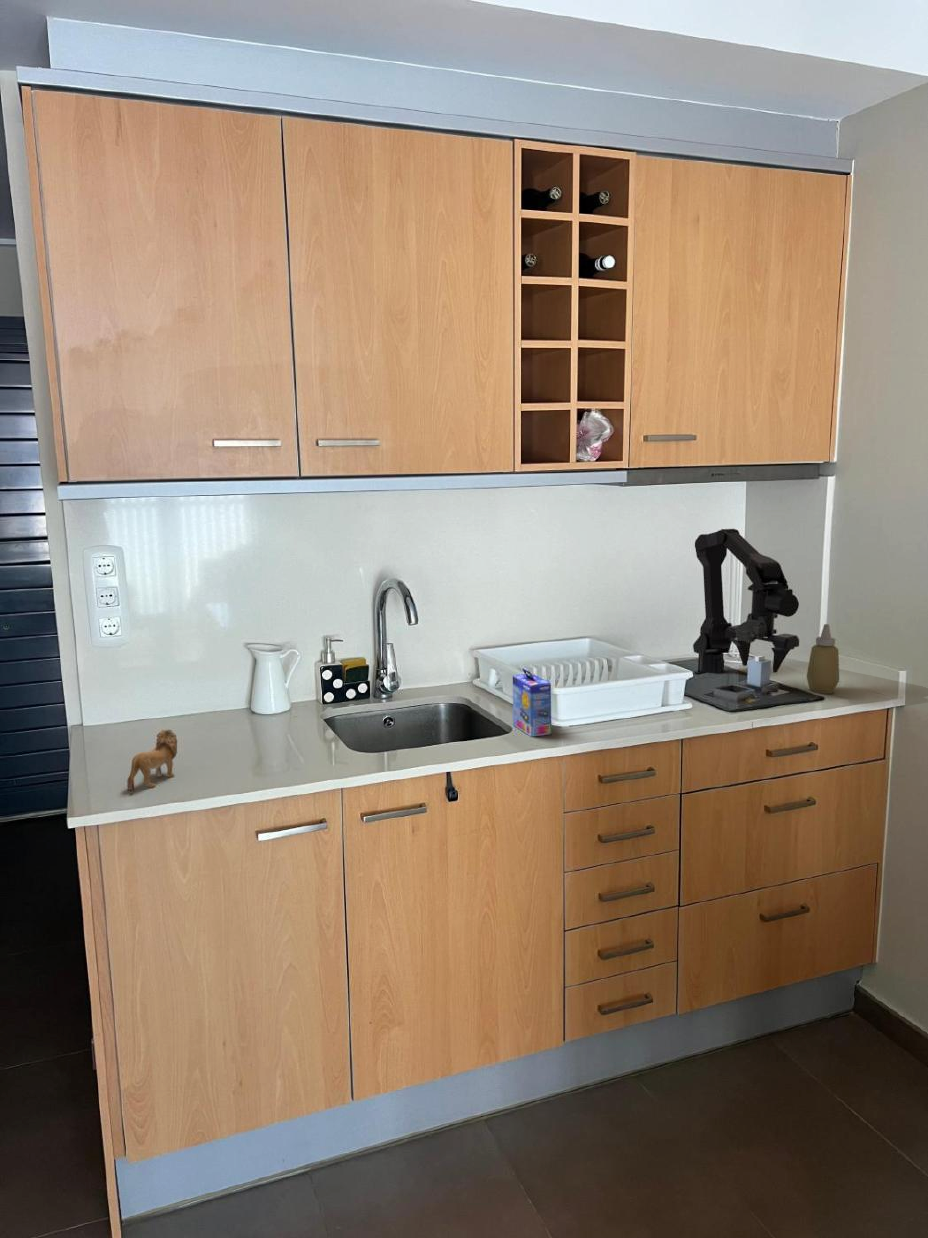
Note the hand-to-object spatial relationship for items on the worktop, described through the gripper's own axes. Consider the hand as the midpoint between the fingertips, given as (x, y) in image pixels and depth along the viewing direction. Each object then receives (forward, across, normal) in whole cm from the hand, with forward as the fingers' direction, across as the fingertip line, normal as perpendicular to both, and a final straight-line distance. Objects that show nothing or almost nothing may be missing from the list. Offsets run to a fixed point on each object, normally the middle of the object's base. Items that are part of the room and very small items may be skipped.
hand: (759, 669), depth 244 cm
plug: (+6, 0, 0) cm, 6 cm away
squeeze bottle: (+7, +9, +15) cm, 19 cm away
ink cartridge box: (+7, -13, -67) cm, 69 cm away
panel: (+7, 0, -5) cm, 8 cm away
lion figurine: (+7, -34, -147) cm, 151 cm away
